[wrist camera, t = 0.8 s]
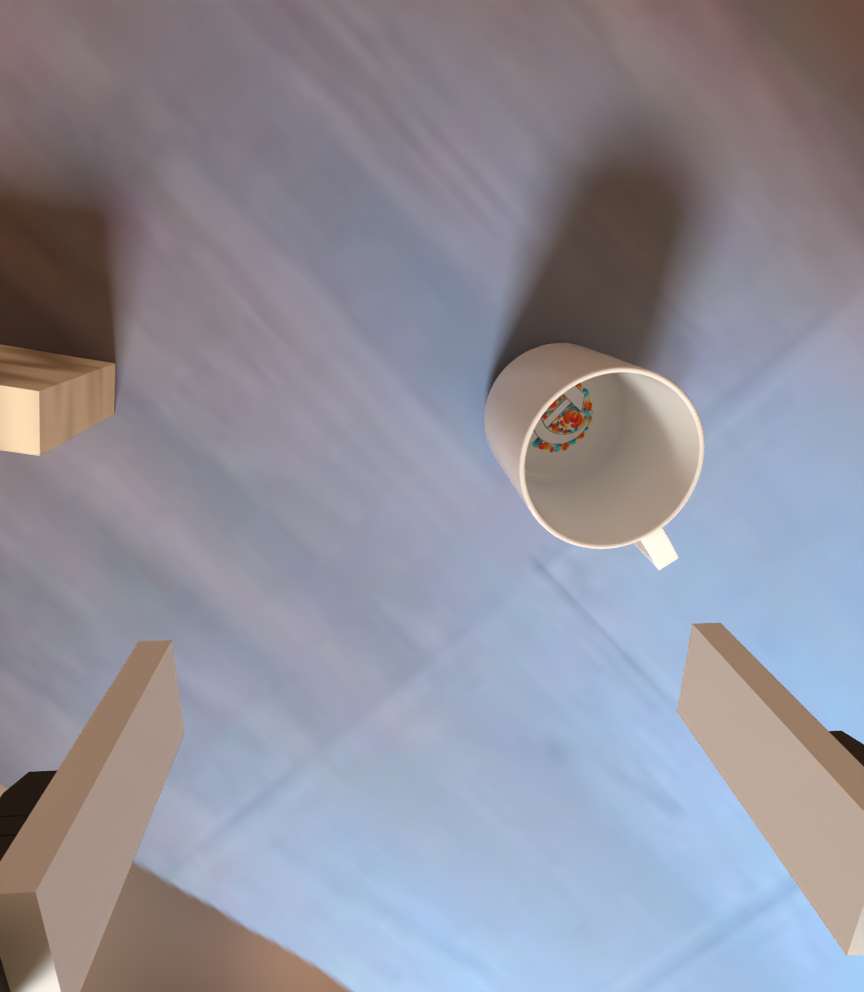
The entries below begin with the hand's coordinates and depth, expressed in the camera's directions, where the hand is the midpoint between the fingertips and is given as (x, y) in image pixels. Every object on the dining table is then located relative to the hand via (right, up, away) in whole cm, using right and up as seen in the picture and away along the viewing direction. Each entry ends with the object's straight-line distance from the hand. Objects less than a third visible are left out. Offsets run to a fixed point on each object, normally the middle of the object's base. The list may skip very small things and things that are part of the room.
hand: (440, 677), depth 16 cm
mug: (+8, +9, +25) cm, 27 cm away
